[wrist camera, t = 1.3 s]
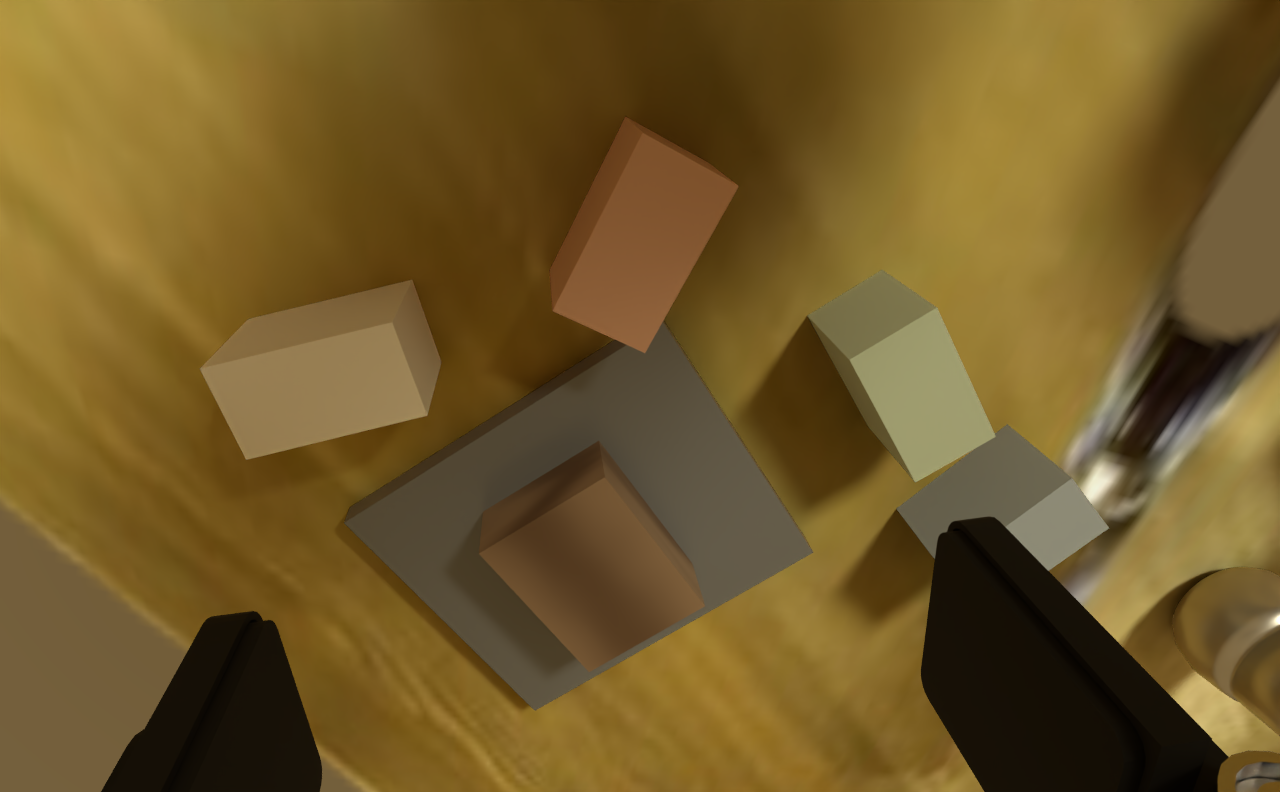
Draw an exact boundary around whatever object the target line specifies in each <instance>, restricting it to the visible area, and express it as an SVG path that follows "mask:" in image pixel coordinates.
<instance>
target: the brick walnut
mask: <svg viewBox="0 0 1280 792" xmlns="http://www.w3.org/2000/svg"><path fill="white" fill-rule="evenodd" d="M479 554H480V556H481V557H482V558H483V559H484V560H485V561H486V562H487V563H488V564H489V565H490V566H491V567H492V568H493V570H494V571H495V572H496V573H497V574H498V575H499V576H500V577H501V578H502V579H503V580H504V581H505V582H506V583H507V585H508V586H509V587H510V588H511V589H512V590H513V591H514V592H515V593H516V594H517V595H518V596H519V597H520V599H521V600H522V601H523V602H524V603H525V604H526V605H527V606H528V607H529V608H530V609H531V610H532V611H533V612H534V614H535V615H536V616H537V617H538V618H539V619H540V620H541V621H542V622H543V623H544V624H545V625H546V626H547V628H548V629H549V630H550V631H551V632H552V633H553V634H554V635H555V636H556V637H557V638H558V639H559V640H560V641H561V643H562V644H563V645H564V646H565V647H566V648H567V649H568V650H569V651H570V652H571V653H572V654H573V655H574V656H575V658H576V659H577V660H578V661H579V662H580V663H581V664H582V665H583V666H584V667H585V668H586V669H587V670H588V672H591V671H592V670H594V669H596V668H598V667H599V666H601V665H603V664H605V663H606V662H608V661H610V660H612V659H613V658H615V657H617V656H619V655H620V654H622V653H624V652H626V651H627V650H629V649H631V648H633V647H634V646H636V645H638V644H640V643H641V642H643V641H645V640H647V639H649V638H650V637H652V636H654V635H656V634H657V633H659V632H661V631H663V630H664V629H666V628H668V627H670V626H671V625H673V624H675V623H677V622H678V621H680V620H682V619H684V618H685V617H687V616H689V615H691V614H692V613H694V612H696V611H698V610H699V609H701V608H703V607H705V604H704V601H703V597H702V594H701V591H700V587H699V584H698V581H697V577H696V574H695V571H694V567H693V564H692V562H691V561H690V560H689V558H688V557H687V556H686V554H685V553H684V552H683V550H682V549H681V548H680V547H679V545H678V544H677V543H676V541H675V540H674V539H673V537H672V536H671V535H670V533H669V532H668V531H667V529H666V528H665V527H664V525H663V524H662V523H661V522H660V520H659V519H658V518H657V516H656V515H655V514H654V512H653V511H652V510H651V508H650V507H649V506H648V504H647V503H646V502H645V500H644V499H643V498H642V497H641V495H640V494H639V493H638V491H637V490H636V489H635V487H634V486H633V485H632V483H631V482H630V481H629V479H628V478H627V477H626V475H625V474H624V473H623V472H622V470H621V469H620V468H619V466H618V465H617V464H616V462H615V461H614V460H613V458H612V457H611V456H610V454H609V453H608V452H607V450H606V449H605V448H604V447H603V445H602V444H601V443H600V441H597V442H596V443H594V444H592V445H591V446H589V447H588V448H586V449H584V450H583V451H581V452H579V453H578V454H576V455H575V456H573V457H571V458H570V459H568V460H566V461H565V462H563V463H562V464H560V465H558V466H557V467H555V468H553V469H552V470H550V471H549V472H547V473H545V474H544V475H542V476H540V477H539V478H537V479H535V480H534V481H532V482H531V483H529V484H527V485H526V486H524V487H522V488H521V489H519V490H518V491H516V492H514V493H513V494H511V495H509V496H508V497H506V498H505V499H503V500H501V501H500V502H498V503H496V504H495V505H493V506H492V507H490V508H488V509H487V510H485V511H483V517H482V527H481V537H480V546H479Z"/></svg>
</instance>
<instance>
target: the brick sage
mask: <svg viewBox="0 0 1280 792" xmlns="http://www.w3.org/2000/svg"><path fill="white" fill-rule="evenodd" d="M808 318H809V320H810V322H811V323H812V325H813V327H814V329H815V331H816V333H817V334H818V336H819V338H820V340H821V342H822V343H823V345H824V347H825V349H826V351H827V353H828V354H829V356H830V358H831V360H832V362H833V364H834V365H835V367H836V369H837V371H838V373H839V374H840V376H841V378H842V380H843V382H844V384H845V385H846V387H847V389H848V391H849V393H850V395H851V396H852V398H853V400H854V402H855V404H856V405H857V407H858V409H859V411H860V413H861V415H862V416H863V418H864V420H865V422H866V424H867V425H868V427H869V428H870V429H871V431H872V432H873V433H874V434H875V435H876V437H877V438H878V439H879V440H880V441H881V442H882V444H883V445H884V446H885V447H886V448H887V450H888V451H889V452H890V453H891V454H892V456H893V457H894V458H895V459H896V460H897V461H898V463H899V464H900V465H901V466H902V467H903V469H904V470H905V471H906V472H907V473H908V474H909V476H910V477H911V478H912V479H913V480H914V482H917V481H919V480H921V479H922V478H924V477H926V476H928V475H929V474H931V473H933V472H935V471H936V470H938V469H940V468H942V467H943V466H945V465H947V464H949V463H950V462H952V461H954V460H956V459H957V458H959V457H961V456H963V455H965V454H966V453H968V452H970V451H972V450H973V449H975V448H977V447H979V446H980V445H982V444H984V443H986V442H987V441H989V440H991V439H993V438H994V437H996V436H995V434H994V431H993V429H992V427H991V425H990V423H989V420H988V418H987V416H986V414H985V412H984V409H983V407H982V405H981V403H980V401H979V399H978V396H977V394H976V392H975V390H974V388H973V385H972V383H971V381H970V379H969V377H968V374H967V372H966V370H965V368H964V366H963V363H962V361H961V359H960V357H959V355H958V353H957V350H956V348H955V346H954V344H953V342H952V339H951V337H950V335H949V333H948V331H947V328H946V326H945V324H944V322H943V320H942V317H941V315H940V313H939V311H938V309H937V307H936V306H934V305H933V304H931V303H930V302H928V301H927V300H925V299H924V298H922V297H921V296H920V295H918V294H917V293H915V292H914V291H912V290H911V289H909V288H908V287H906V286H905V285H904V284H902V283H901V282H899V281H898V280H896V279H895V278H893V277H892V276H890V275H889V274H888V273H886V272H885V271H883V270H881V271H879V272H878V273H876V274H874V275H873V276H871V277H870V278H868V279H866V280H865V281H863V282H861V283H860V284H858V285H856V286H855V287H853V288H852V289H850V290H848V291H847V292H845V293H843V294H842V295H840V296H839V297H837V298H835V299H834V300H832V301H830V302H829V303H827V304H825V305H824V306H822V307H821V308H819V309H817V310H816V311H814V312H812V313H811V314H809V315H808Z"/></svg>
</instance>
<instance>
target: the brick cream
mask: <svg viewBox="0 0 1280 792" xmlns="http://www.w3.org/2000/svg"><path fill="white" fill-rule="evenodd" d="M440 366H441V359H440V357H439V354H438V351H437V348H436V345H435V342H434V340H433V337H432V334H431V331H430V328H429V326H428V323H427V320H426V317H425V314H424V311H423V309H422V306H421V303H420V300H419V297H418V294H417V292H416V289H415V286H414V283H413V280H409V281H404V282H400V283H396V284H392V285H388V286H384V287H379V288H375V289H371V290H367V291H363V292H359V293H354V294H350V295H346V296H342V297H338V298H333V299H329V300H325V301H321V302H317V303H313V304H308V305H304V306H300V307H296V308H292V309H288V310H283V311H279V312H275V313H271V314H267V315H262V316H258V317H254V318H250V319H248V320H247V321H246V322H245V323H244V324H243V325H242V326H241V327H240V328H239V329H238V330H237V331H236V332H235V333H234V334H233V335H232V336H231V337H230V338H229V339H228V340H227V341H226V342H225V343H224V344H223V345H222V346H221V347H220V348H219V349H218V350H217V351H216V352H215V354H214V355H213V356H212V357H211V358H210V359H209V360H208V361H207V362H206V363H205V364H204V365H203V366H202V367H201V368H200V370H201V372H202V374H203V376H204V378H205V380H206V382H207V384H208V386H209V388H210V390H211V392H212V394H213V396H214V398H215V400H216V402H217V404H218V406H219V408H220V410H221V412H222V413H223V415H224V417H225V419H226V421H227V423H228V425H229V427H230V429H231V431H232V433H233V435H234V437H235V439H236V441H237V443H238V445H239V447H240V449H241V451H242V453H243V455H244V457H245V459H246V460H248V459H252V458H256V457H260V456H265V455H269V454H273V453H277V452H281V451H285V450H289V449H293V448H297V447H301V446H305V445H310V444H314V443H318V442H322V441H326V440H330V439H334V438H338V437H342V436H346V435H350V434H355V433H359V432H363V431H367V430H371V429H375V428H379V427H383V426H387V425H391V424H395V423H399V422H404V421H408V420H412V419H416V418H420V417H424V416H427V415H428V411H429V407H430V404H431V400H432V396H433V392H434V389H435V385H436V381H437V377H438V374H439V370H440Z"/></svg>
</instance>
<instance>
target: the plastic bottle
mask: <svg viewBox="0 0 1280 792" xmlns="http://www.w3.org/2000/svg"><path fill="white" fill-rule="evenodd" d="M1172 625H1173V632H1174V638H1175V643H1176V645H1177V647H1178V649H1179V650H1180V652H1181V653H1182V654H1183V656H1184V657H1185V658H1186V660H1187V661H1188V663H1189V664H1190V665H1191V667H1192V668H1193V669H1194V670H1195V671H1196V672H1197V673H1198V674H1199V675H1201V676H1202V677H1203V678H1204V679H1206V680H1207V681H1208V682H1210V683H1211V684H1212V685H1213V686H1215V687H1216V688H1217V689H1219V690H1220V691H1221V692H1223V693H1224V694H1226V695H1227V696H1229V697H1231V698H1232V699H1234V700H1236V701H1238V702H1240V703H1241V704H1242V705H1243V706H1244V707H1245V708H1247V709H1248V710H1249V711H1250V712H1251V713H1253V714H1254V715H1255V716H1256V717H1257V718H1259V719H1260V720H1261V721H1262V722H1263V723H1265V724H1266V725H1267V726H1268V727H1269V728H1271V729H1272V730H1273V731H1274V732H1275V733H1277V734H1278V735H1279V736H1280V576H1278V575H1276V574H1274V573H1272V572H1270V571H1268V570H1264V569H1258V568H1249V567H1233V568H1227V569H1224V570H1221V571H1218V572H1216V573H1214V574H1211V575H1209V576H1208V577H1206V578H1204V579H1203V580H1201V581H1200V582H1198V583H1197V584H1196V585H1195V586H1193V587H1192V588H1191V589H1190V590H1189V591H1188V592H1187V593H1186V594H1185V595H1184V597H1183V598H1182V599H1181V601H1180V602H1179V604H1178V606H1177V608H1176V609H1175V612H1174V615H1173V622H1172Z"/></svg>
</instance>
